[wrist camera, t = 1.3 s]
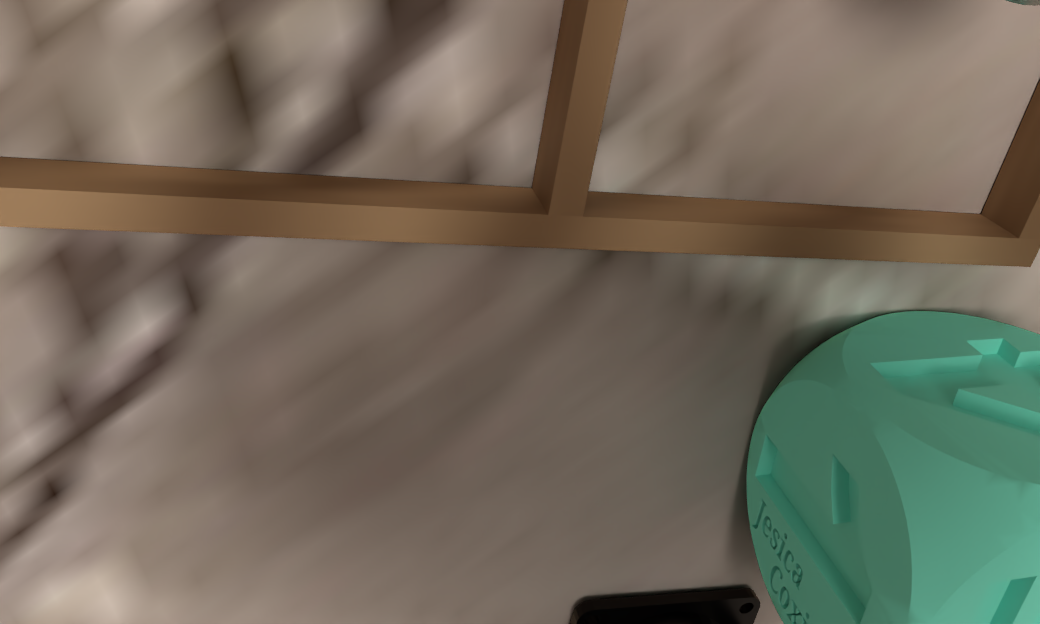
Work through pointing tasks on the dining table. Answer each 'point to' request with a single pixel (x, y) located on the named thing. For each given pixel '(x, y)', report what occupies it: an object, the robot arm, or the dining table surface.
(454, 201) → the walnut rack
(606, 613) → the robot arm
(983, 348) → the teal round container
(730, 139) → the dining table surface
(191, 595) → the dining table surface
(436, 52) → the dining table surface
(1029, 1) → the grey metal canister
